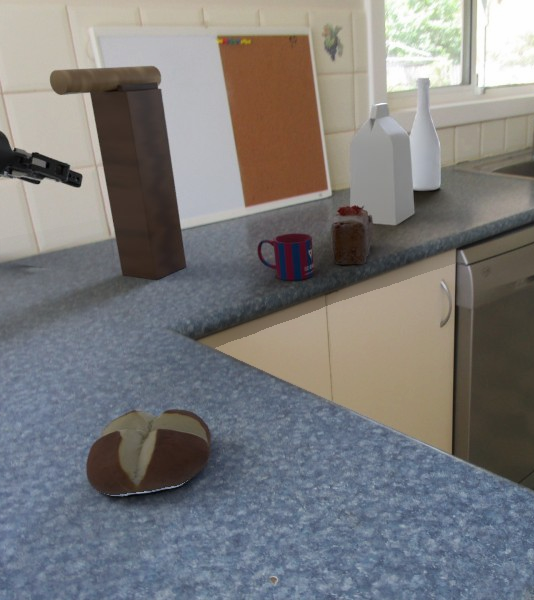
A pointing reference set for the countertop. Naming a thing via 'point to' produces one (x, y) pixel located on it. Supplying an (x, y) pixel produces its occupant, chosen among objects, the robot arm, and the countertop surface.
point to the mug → (291, 256)
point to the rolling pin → (101, 79)
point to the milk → (382, 169)
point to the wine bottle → (424, 143)
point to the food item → (351, 235)
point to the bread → (148, 452)
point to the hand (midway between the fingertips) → (59, 179)
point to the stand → (139, 179)
